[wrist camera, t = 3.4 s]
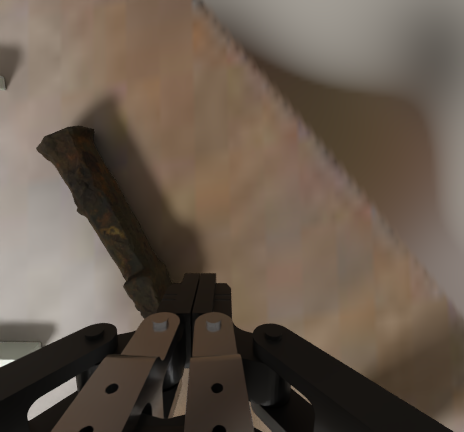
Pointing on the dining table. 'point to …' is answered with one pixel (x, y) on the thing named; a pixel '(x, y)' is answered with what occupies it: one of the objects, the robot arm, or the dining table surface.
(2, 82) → the tool holder
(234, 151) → the dining table surface
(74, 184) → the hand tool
